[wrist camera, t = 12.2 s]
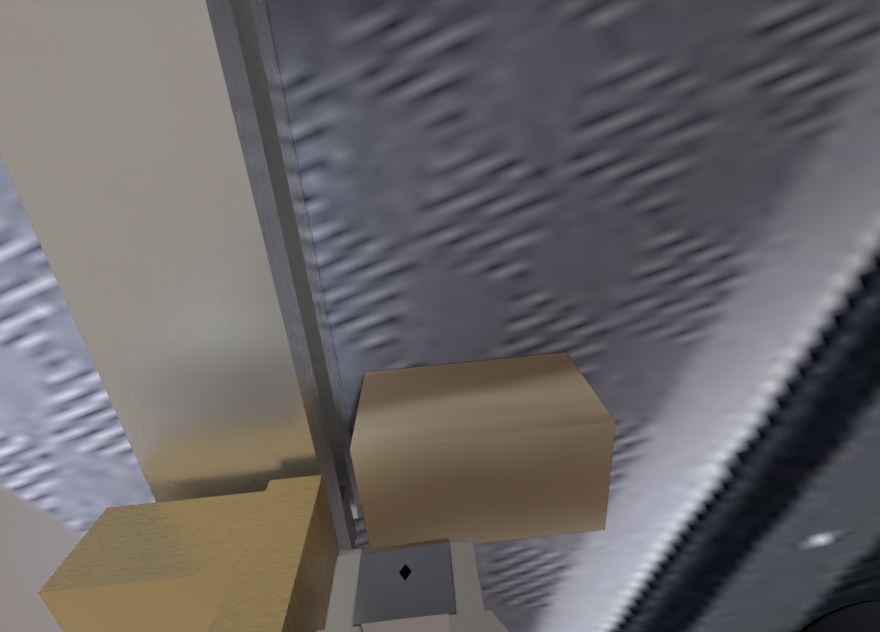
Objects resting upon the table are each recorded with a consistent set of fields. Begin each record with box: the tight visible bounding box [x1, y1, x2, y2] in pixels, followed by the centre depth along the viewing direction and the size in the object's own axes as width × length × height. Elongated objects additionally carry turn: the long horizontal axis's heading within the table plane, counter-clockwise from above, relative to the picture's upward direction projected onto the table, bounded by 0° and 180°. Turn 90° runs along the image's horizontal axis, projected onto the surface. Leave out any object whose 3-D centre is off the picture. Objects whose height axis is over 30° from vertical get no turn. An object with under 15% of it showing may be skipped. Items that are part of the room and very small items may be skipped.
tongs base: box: [230, 0, 360, 519], centre depth 9 cm, size 22×7×5 cm, turn 4°
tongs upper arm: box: [0, 0, 356, 550], centre depth 8 cm, size 22×5×2 cm, turn 4°
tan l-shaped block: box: [38, 475, 340, 632], centre depth 9 cm, size 3×5×4 cm, turn 95°
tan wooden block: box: [350, 352, 616, 547], centre depth 13 cm, size 4×6×4 cm, turn 95°
